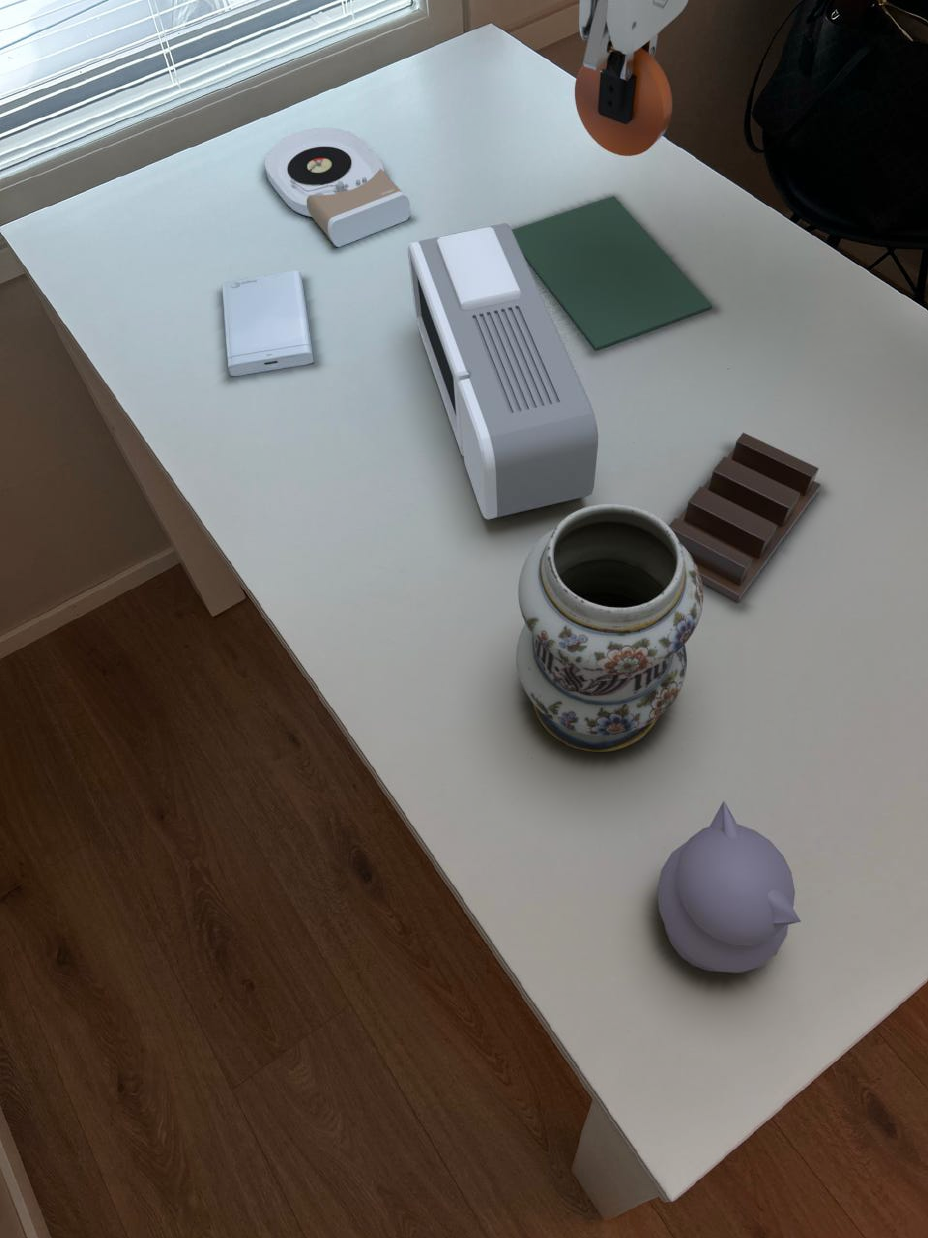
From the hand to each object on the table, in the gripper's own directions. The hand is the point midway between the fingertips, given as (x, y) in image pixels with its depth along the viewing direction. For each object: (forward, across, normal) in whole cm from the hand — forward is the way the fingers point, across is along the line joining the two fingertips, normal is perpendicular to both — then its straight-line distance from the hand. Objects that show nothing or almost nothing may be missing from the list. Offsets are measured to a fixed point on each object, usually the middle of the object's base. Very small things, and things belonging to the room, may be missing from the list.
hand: (621, 110), depth 84 cm
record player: (+18, -4, +34) cm, 38 cm away
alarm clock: (+18, -22, -2) cm, 28 cm away
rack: (+17, -21, -26) cm, 38 cm away
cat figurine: (+18, -51, -41) cm, 68 cm away
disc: (-1, 0, 0) cm, 1 cm away
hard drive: (+18, -26, +24) cm, 39 cm away
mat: (+17, +1, 0) cm, 17 cm away
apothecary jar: (+18, -41, -26) cm, 52 cm away
